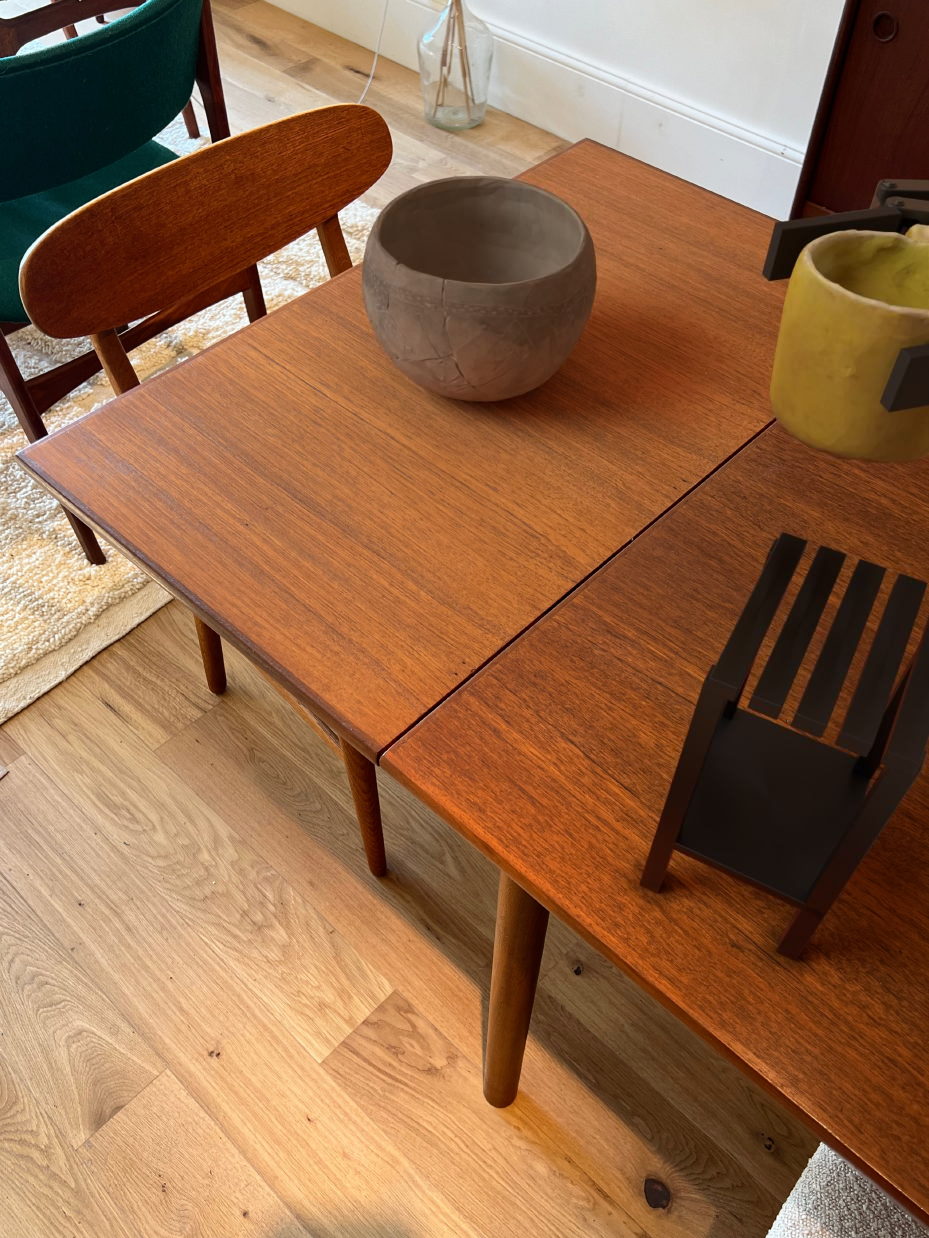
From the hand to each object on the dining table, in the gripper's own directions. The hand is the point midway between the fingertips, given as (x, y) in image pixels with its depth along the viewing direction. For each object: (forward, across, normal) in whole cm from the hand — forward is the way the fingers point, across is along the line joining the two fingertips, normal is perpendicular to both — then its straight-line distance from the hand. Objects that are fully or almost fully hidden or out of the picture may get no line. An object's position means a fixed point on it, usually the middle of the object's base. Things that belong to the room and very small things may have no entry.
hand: (828, 311), depth 45 cm
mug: (-4, 0, -6) cm, 7 cm away
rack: (+1, -10, -32) cm, 33 cm away
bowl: (+3, +43, -32) cm, 54 cm away
